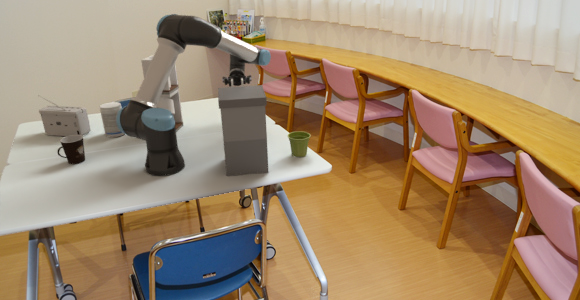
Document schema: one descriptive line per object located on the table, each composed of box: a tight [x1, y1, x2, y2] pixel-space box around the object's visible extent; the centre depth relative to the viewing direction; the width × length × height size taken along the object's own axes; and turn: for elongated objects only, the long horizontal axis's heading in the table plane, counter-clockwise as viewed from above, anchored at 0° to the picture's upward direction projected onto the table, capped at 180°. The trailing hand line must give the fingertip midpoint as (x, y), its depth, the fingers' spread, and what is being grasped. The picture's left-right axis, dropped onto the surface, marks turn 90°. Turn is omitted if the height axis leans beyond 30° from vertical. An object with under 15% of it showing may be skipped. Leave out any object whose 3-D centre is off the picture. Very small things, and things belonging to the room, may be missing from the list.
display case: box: [140, 54, 184, 133], centre depth 213 cm, size 11×11×35 cm
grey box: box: [217, 84, 270, 177], centre depth 173 cm, size 17×17×30 cm
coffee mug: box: [57, 135, 86, 165], centre depth 185 cm, size 12×9×10 cm
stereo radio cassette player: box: [37, 95, 91, 137], centre depth 213 cm, size 21×8×20 cm, turn 77°
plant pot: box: [287, 131, 311, 158], centre depth 186 cm, size 9×9×9 cm
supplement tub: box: [99, 101, 125, 138], centre depth 212 cm, size 10×10×15 cm
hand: (237, 83), depth 191 cm, fingers open, 4 cm apart
